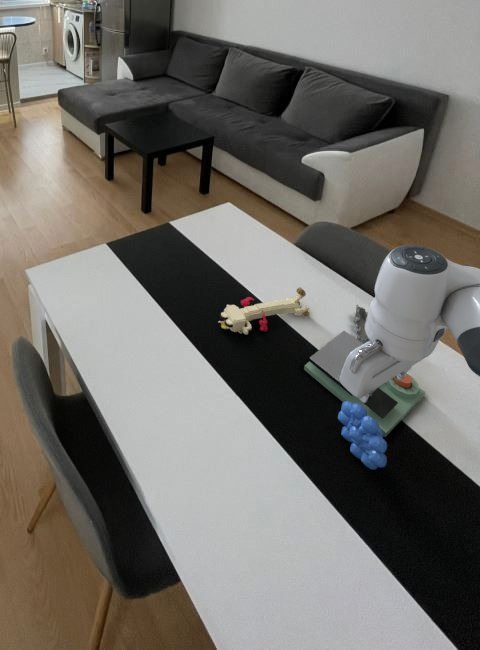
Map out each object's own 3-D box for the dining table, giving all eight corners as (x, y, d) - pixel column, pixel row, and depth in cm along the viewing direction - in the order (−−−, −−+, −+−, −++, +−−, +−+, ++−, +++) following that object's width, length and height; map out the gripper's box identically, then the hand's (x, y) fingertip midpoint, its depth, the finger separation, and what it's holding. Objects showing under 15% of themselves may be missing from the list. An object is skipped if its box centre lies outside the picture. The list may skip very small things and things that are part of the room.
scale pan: (415, 384, 94) (417, 381, 94) (381, 420, 88) (382, 416, 87) (343, 333, 107) (344, 330, 107) (308, 361, 101) (309, 357, 100)
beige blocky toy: (288, 299, 123) (210, 313, 118) (294, 275, 120) (214, 288, 115) (313, 326, 114) (229, 343, 109) (320, 301, 111) (234, 317, 106)
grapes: (399, 485, 80) (413, 444, 75) (363, 489, 80) (376, 448, 75) (357, 421, 91) (368, 382, 86) (326, 424, 90) (336, 385, 86)
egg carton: (352, 313, 116) (355, 302, 115) (386, 324, 112) (389, 312, 111) (352, 343, 108) (355, 331, 106) (388, 356, 104) (392, 343, 102)
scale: (423, 396, 95) (427, 386, 94) (385, 437, 87) (388, 428, 86) (342, 338, 109) (344, 329, 108) (303, 369, 102) (305, 360, 101)
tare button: (412, 384, 95) (414, 378, 94) (405, 391, 93) (407, 385, 93) (398, 373, 97) (399, 368, 96) (390, 380, 96) (392, 375, 95)
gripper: (373, 371, 66) (357, 429, 72) (454, 323, 73) (434, 378, 79) (336, 340, 72) (324, 395, 77) (414, 298, 79) (398, 351, 84)
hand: (380, 386), depth 78 cm, fingers open, 8 cm apart
